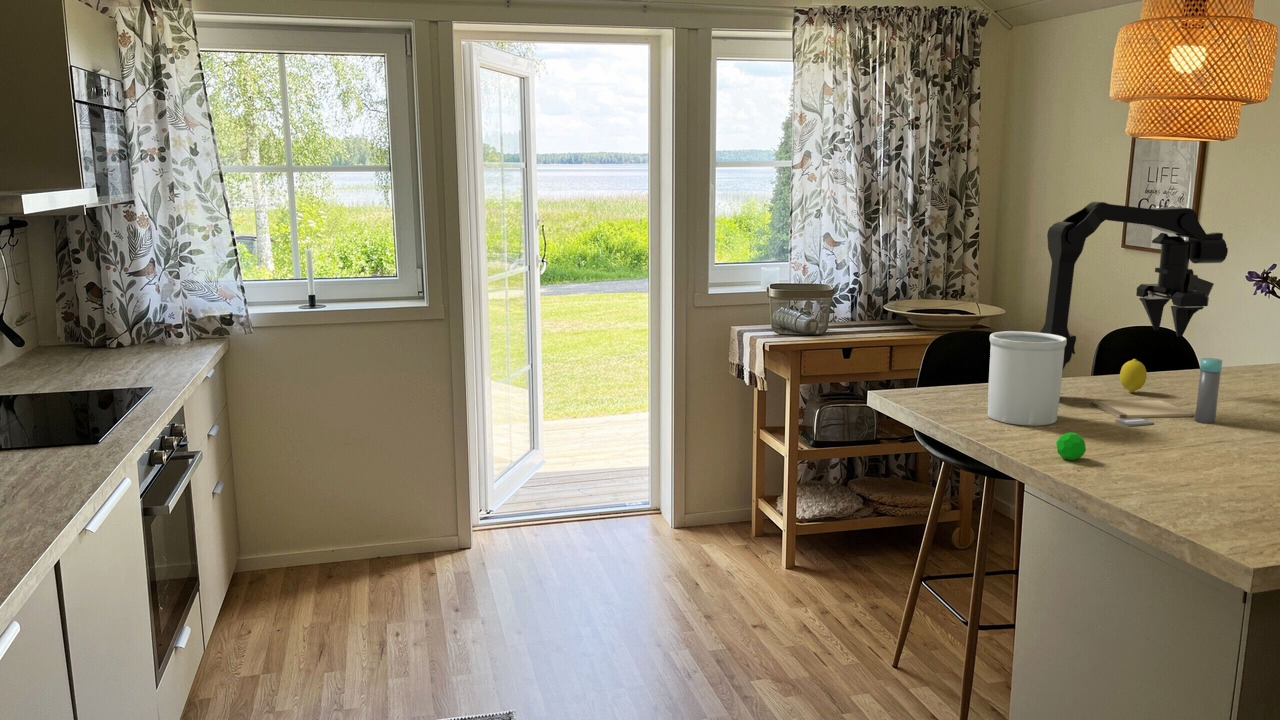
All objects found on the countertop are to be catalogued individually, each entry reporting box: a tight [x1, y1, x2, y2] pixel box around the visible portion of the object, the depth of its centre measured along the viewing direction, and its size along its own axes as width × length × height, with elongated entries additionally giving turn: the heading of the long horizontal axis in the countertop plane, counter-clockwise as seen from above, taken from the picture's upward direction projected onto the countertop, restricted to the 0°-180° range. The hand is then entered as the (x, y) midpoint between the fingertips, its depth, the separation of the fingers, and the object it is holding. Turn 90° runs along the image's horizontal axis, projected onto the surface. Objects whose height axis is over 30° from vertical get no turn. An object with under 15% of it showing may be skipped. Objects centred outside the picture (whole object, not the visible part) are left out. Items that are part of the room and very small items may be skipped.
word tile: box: [1114, 417, 1155, 427], centre depth 201 cm, size 6×4×1 cm, turn 103°
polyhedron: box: [1055, 431, 1087, 461], centre depth 176 cm, size 5×5×5 cm
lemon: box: [1119, 358, 1148, 394], centre depth 226 cm, size 6×6×8 cm
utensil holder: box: [987, 330, 1067, 427], centre depth 204 cm, size 15×15×18 cm
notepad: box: [1090, 399, 1194, 419], centre depth 211 cm, size 16×12×1 cm
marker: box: [1194, 357, 1223, 425], centre depth 200 cm, size 4×4×13 cm
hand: (1167, 332), depth 221 cm, fingers open, 9 cm apart
